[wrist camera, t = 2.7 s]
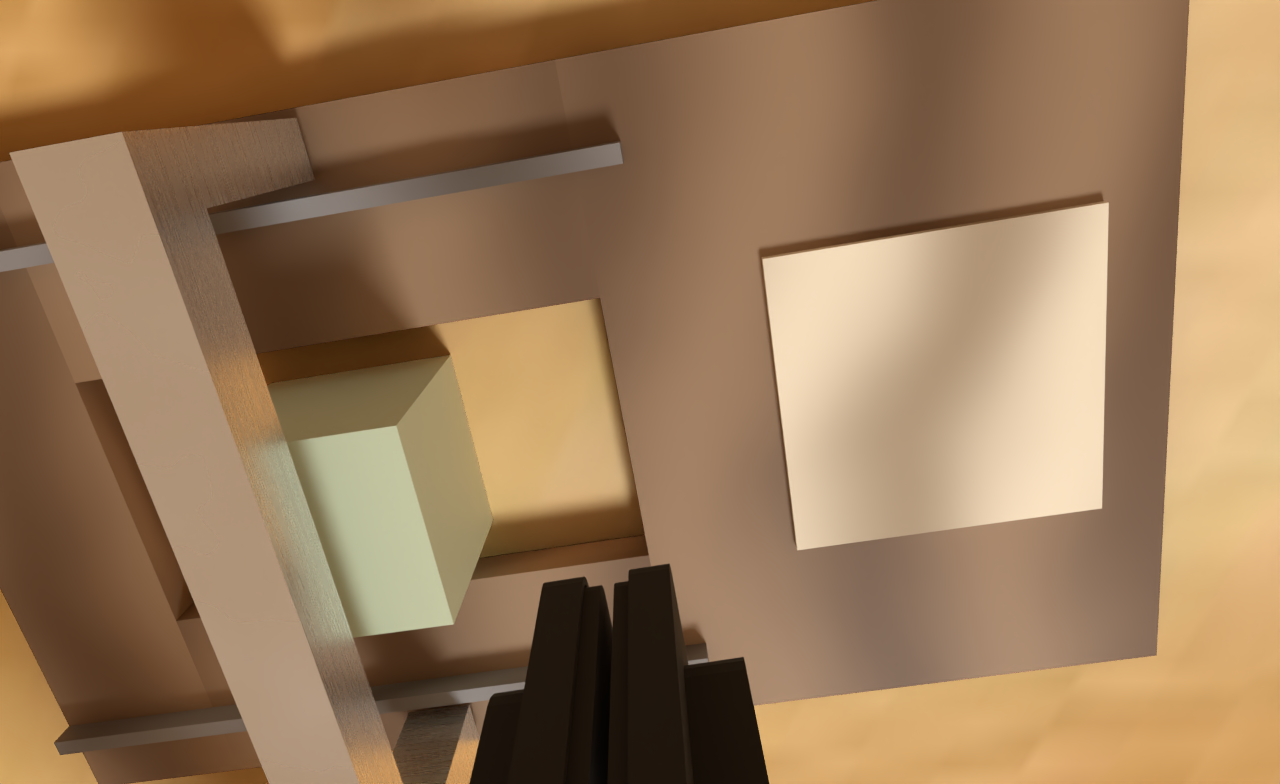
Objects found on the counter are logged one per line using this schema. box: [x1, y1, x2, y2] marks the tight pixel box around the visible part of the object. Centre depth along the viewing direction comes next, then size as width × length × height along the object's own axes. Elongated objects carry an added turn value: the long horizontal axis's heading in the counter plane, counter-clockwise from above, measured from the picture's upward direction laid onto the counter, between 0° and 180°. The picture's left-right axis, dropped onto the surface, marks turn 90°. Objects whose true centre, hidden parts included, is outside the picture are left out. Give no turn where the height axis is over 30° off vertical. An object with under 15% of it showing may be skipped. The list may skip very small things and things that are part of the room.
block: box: [267, 355, 493, 638], centre depth 18 cm, size 4×4×4 cm
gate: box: [9, 118, 480, 784], centre depth 16 cm, size 2×16×6 cm, turn 9°
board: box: [0, 0, 1189, 784], centre depth 19 cm, size 28×16×2 cm, turn 100°
